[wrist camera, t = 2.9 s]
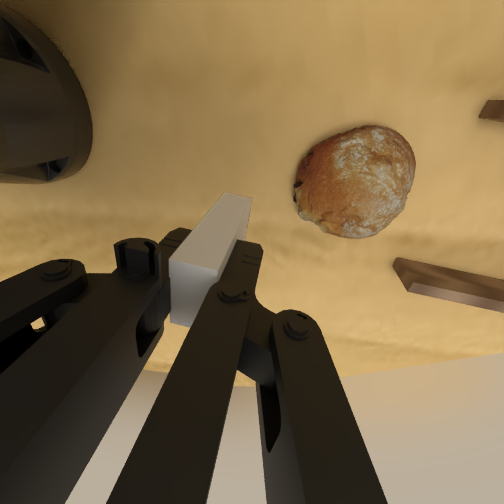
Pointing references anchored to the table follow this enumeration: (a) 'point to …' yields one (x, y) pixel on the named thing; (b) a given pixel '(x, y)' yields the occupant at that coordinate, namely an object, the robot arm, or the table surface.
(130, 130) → the table surface
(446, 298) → the corral
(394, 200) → the bread roll
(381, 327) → the table surface
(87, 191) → the table surface
